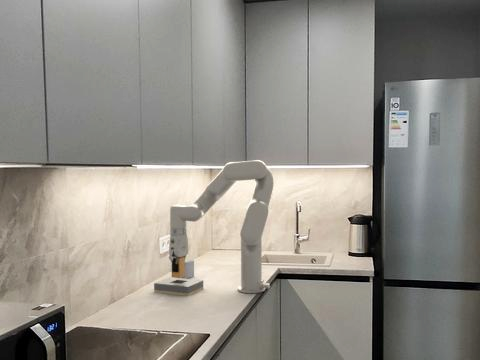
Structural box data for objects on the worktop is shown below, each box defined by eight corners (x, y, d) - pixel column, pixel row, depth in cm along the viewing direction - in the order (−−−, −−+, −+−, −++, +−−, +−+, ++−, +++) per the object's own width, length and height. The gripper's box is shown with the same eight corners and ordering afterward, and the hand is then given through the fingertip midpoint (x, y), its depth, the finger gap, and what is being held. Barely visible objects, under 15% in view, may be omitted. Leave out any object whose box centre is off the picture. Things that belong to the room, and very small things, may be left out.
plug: (184, 276, 225) (184, 254, 225) (179, 278, 221) (179, 256, 221) (176, 275, 227) (176, 254, 227) (171, 277, 223) (171, 255, 223)
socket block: (203, 288, 227) (203, 280, 227) (188, 295, 214) (188, 286, 214) (170, 285, 235) (170, 277, 234) (154, 291, 222) (154, 283, 222)
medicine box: (187, 275, 256) (187, 259, 256) (194, 276, 254) (194, 260, 254) (178, 278, 250) (178, 261, 249) (185, 279, 247) (184, 262, 247)
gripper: (175, 234, 215) (175, 275, 215) (194, 230, 230) (194, 268, 230) (161, 233, 218) (161, 273, 218) (180, 229, 233) (180, 267, 234)
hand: (178, 270), depth 224 cm, fingers closed on plug, 4 cm apart
